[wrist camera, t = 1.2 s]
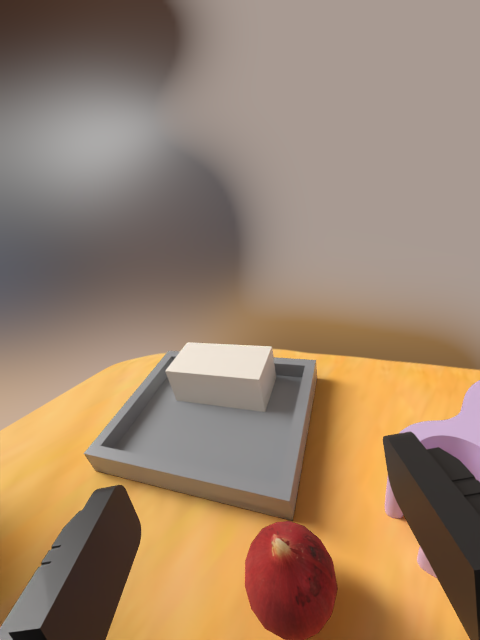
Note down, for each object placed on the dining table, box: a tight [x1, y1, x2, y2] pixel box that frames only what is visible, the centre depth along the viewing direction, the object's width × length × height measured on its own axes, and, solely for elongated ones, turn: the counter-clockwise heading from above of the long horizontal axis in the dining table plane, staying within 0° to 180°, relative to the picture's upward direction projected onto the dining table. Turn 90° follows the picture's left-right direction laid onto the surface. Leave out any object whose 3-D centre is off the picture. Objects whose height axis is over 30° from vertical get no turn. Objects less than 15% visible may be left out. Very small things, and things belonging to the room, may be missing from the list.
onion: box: [245, 521, 338, 640], centre depth 20 cm, size 6×6×8 cm
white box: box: [165, 342, 276, 412], centre depth 39 cm, size 12×6×5 cm, turn 72°
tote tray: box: [84, 351, 317, 521], centre depth 36 cm, size 22×18×3 cm
